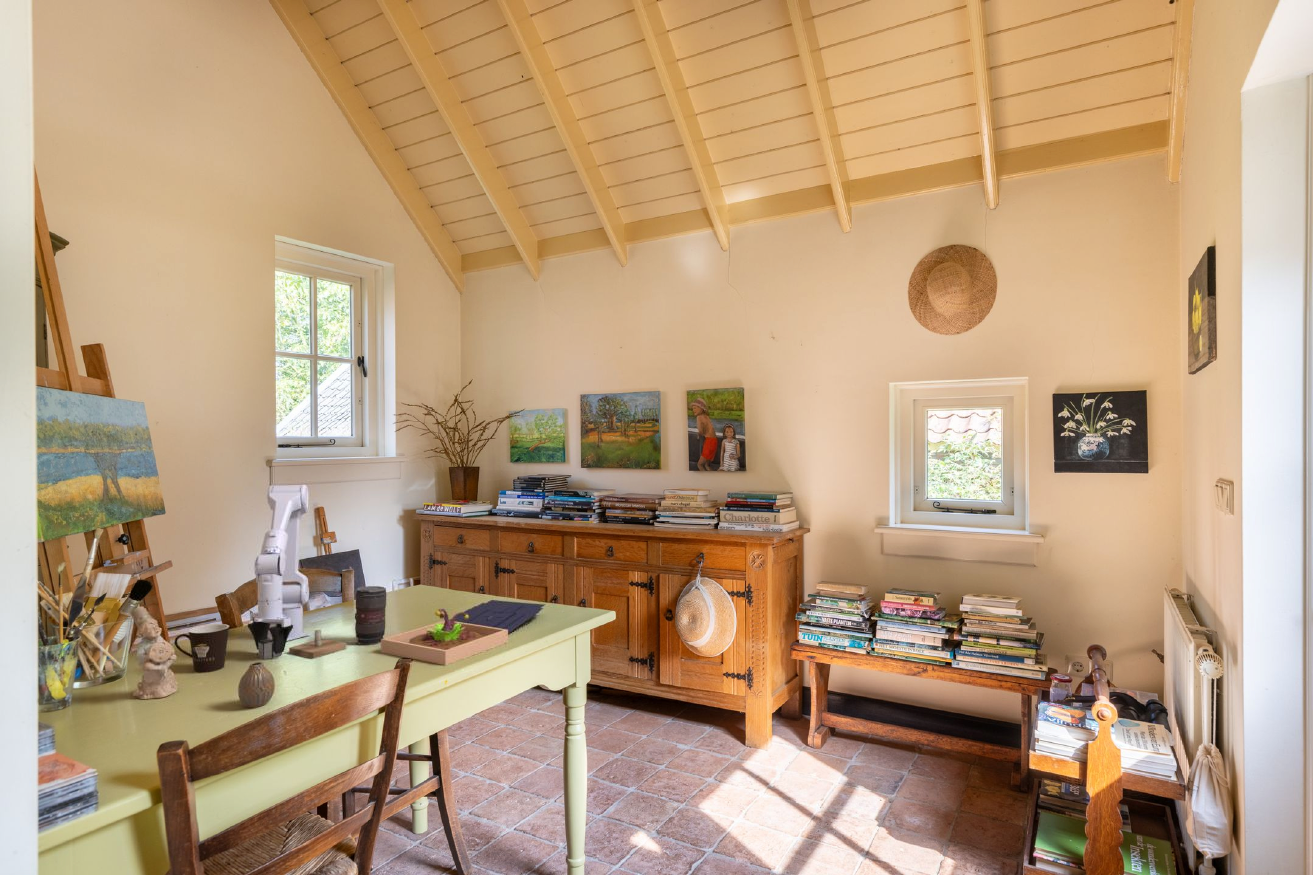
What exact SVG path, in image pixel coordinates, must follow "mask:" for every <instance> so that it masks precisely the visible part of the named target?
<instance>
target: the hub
mask: <svg viewBox="0 0 1313 875" xmlns="http://www.w3.org/2000/svg"><path fill="white" fill-rule="evenodd" d="M282 655H283V652H282V653H278V654H275V652H274V646H273V639H272V638H271V639H270V638H267V639H265V640H261V641H260V642H259V643H258V659H259V660H260V659H261V660H268V659H269V660H272V659H275V658H280V657H281V656H282Z"/></svg>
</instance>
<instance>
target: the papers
mask: <svg viewBox="0 0 1313 875" xmlns="http://www.w3.org/2000/svg"><path fill="white" fill-rule="evenodd" d="M544 606H546V604H543V603H532V602H517V601H507V600H498V599H497V600H496V599H494V600H493V599H491V600H489V601H487V602H482V603H480V604H478V605H474V606H473V607H471V608H469V609H466V610H465V611H463V613H466V614H467V615H468V616H469V617H468V619H465V618H464V615H463V614H461V615H458V616H457V618H456V619H455V622H461V623H468V624H474V625H481V626H487V627H493V628H500V629H506V630H508V634H510V633H511V632H513V630H515V629H516V628H518V627H520V626H521V625H523V624H524V623H525V622H527V621H528V620H530V619H531V618H533V617H534V616H536V615H537V614H539V613H540V612H541V611H542V610H543V609H544ZM451 619H452V618H449V621H450V620H451Z"/></svg>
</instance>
